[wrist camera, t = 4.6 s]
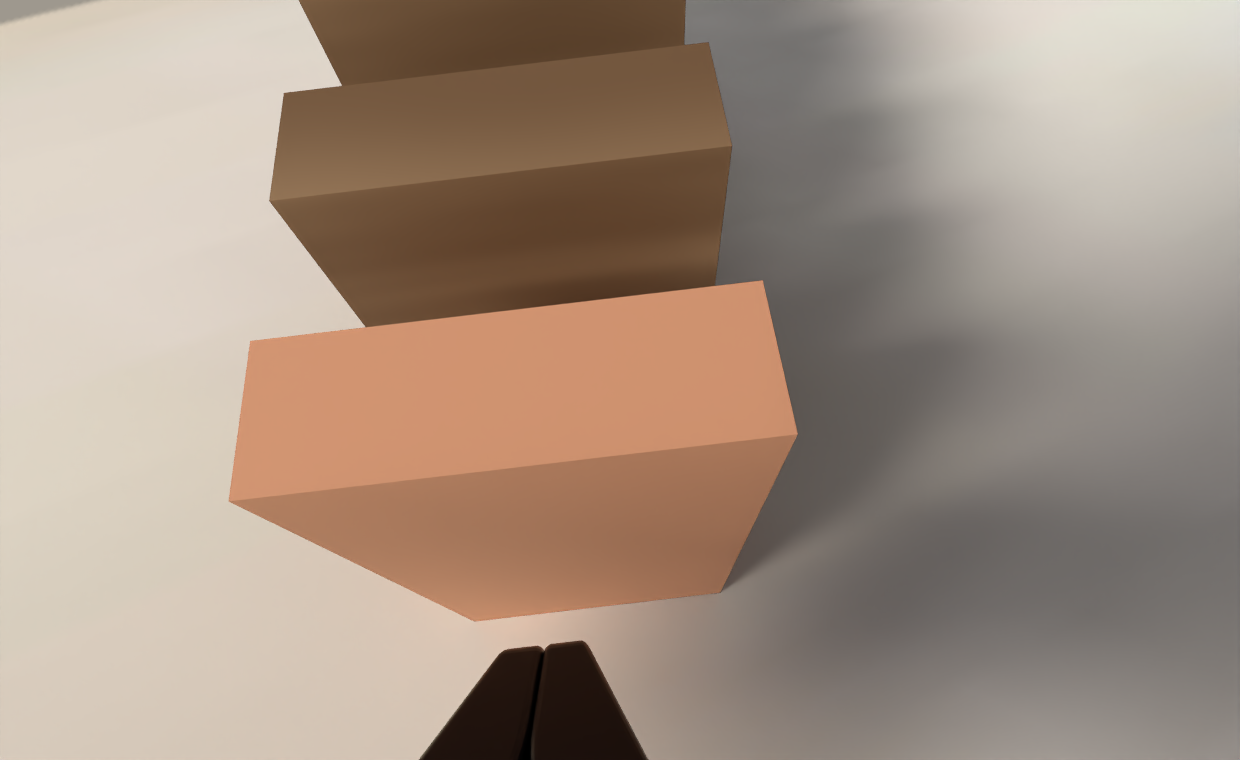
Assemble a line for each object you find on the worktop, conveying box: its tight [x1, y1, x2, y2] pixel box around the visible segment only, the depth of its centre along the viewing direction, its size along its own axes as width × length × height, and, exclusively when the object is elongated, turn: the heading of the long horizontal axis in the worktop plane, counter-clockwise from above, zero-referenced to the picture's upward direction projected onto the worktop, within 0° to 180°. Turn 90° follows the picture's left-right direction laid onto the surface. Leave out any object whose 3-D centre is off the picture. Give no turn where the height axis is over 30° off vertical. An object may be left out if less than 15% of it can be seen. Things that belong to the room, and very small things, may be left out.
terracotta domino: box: [229, 280, 798, 621], centre depth 11 cm, size 2×5×9 cm, turn 96°
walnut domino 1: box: [299, 0, 686, 86], centre depth 13 cm, size 2×5×9 cm, turn 96°
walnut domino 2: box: [269, 42, 732, 327], centre depth 12 cm, size 2×5×9 cm, turn 97°
